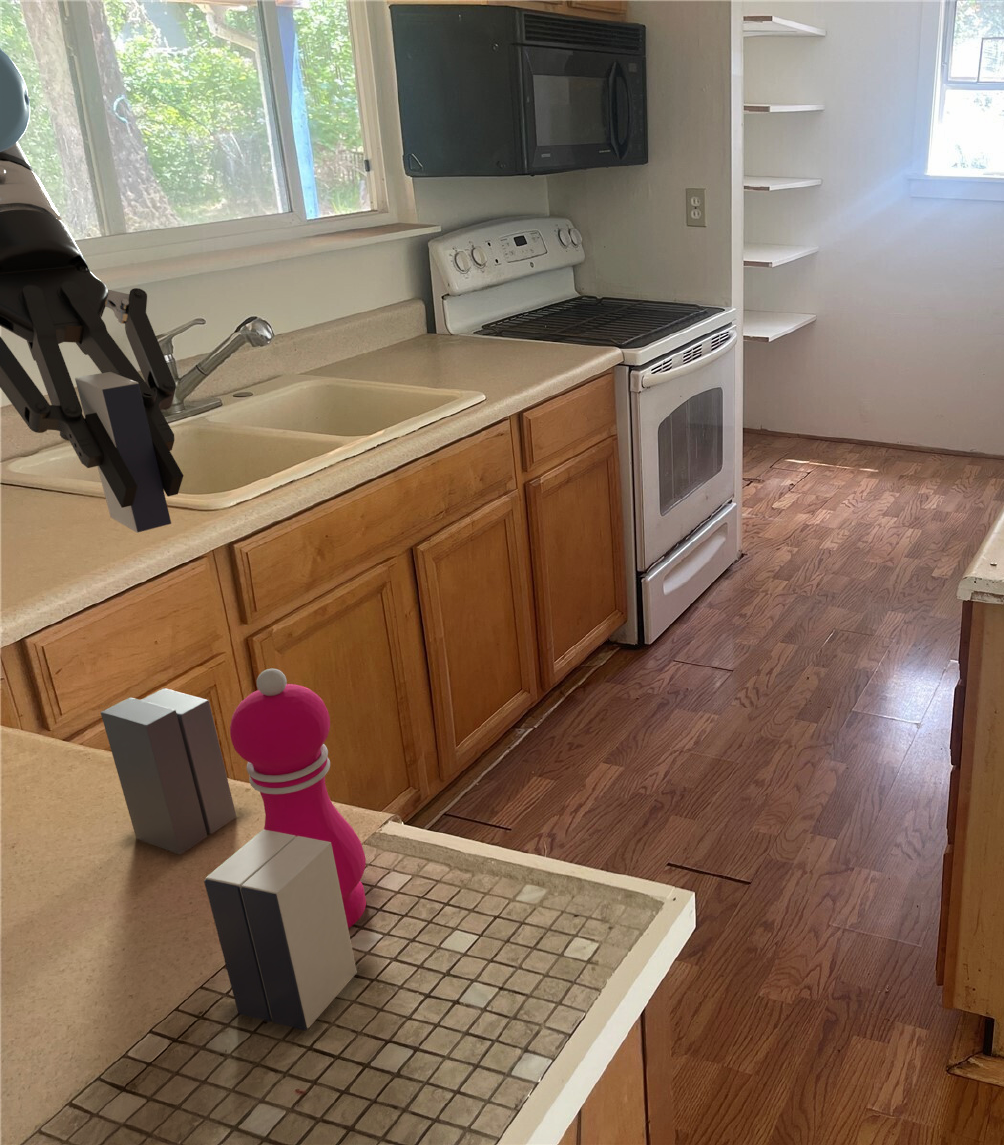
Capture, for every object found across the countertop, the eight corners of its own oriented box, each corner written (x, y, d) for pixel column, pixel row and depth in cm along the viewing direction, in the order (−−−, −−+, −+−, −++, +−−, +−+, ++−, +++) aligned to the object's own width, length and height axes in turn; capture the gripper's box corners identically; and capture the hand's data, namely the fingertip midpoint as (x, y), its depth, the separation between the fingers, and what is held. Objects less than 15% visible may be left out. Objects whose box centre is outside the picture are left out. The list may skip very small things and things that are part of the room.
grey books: (182, 860, 83) (146, 725, 78) (137, 844, 85) (99, 711, 80) (238, 822, 87) (207, 693, 83) (194, 808, 89) (162, 680, 84)
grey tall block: (239, 1020, 68) (202, 879, 64) (293, 963, 72) (262, 828, 68) (307, 1037, 66) (275, 894, 62) (358, 978, 71) (331, 841, 67)
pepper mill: (375, 939, 74) (328, 686, 67) (262, 965, 72) (200, 706, 64) (373, 876, 81) (329, 638, 73) (269, 898, 78) (213, 655, 71)
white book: (137, 533, 80) (101, 388, 76) (110, 517, 83) (74, 377, 79) (172, 524, 82) (139, 382, 77) (144, 509, 85) (110, 371, 80)
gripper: (-114, 211, 74) (37, 491, 71) (126, 198, 85) (266, 440, 82) (-111, 282, 79) (30, 546, 76) (115, 261, 90) (247, 491, 87)
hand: (152, 491), depth 79 cm, fingers closed on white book, 2 cm apart
